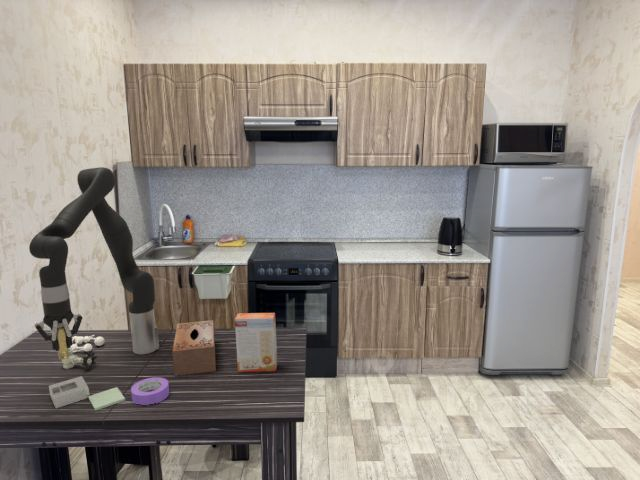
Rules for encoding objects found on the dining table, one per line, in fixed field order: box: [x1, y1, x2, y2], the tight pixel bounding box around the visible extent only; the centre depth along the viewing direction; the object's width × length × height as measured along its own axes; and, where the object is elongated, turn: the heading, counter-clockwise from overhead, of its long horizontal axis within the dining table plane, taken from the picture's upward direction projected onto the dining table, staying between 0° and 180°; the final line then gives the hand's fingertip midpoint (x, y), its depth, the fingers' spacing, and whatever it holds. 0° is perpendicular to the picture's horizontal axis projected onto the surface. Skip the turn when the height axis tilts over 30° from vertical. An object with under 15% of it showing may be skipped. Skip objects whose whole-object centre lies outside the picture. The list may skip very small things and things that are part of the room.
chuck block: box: [48, 375, 91, 409], centre depth 150 cm, size 10×10×4 cm
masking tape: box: [130, 376, 170, 406], centre depth 150 cm, size 12×12×4 cm
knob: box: [56, 322, 69, 360], centre depth 146 cm, size 4×4×12 cm
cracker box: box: [234, 312, 278, 373], centre depth 165 cm, size 14×6×21 cm, turn 89°
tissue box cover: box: [172, 319, 217, 377], centre depth 176 cm, size 26×14×10 cm, turn 14°
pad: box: [87, 386, 126, 411], centre depth 148 cm, size 9×9×1 cm
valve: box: [60, 348, 97, 371], centre depth 169 cm, size 7×7×12 cm
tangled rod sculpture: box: [68, 334, 105, 354], centre depth 187 cm, size 19×14×4 cm
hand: (62, 348), depth 147 cm, fingers closed on knob, 3 cm apart
